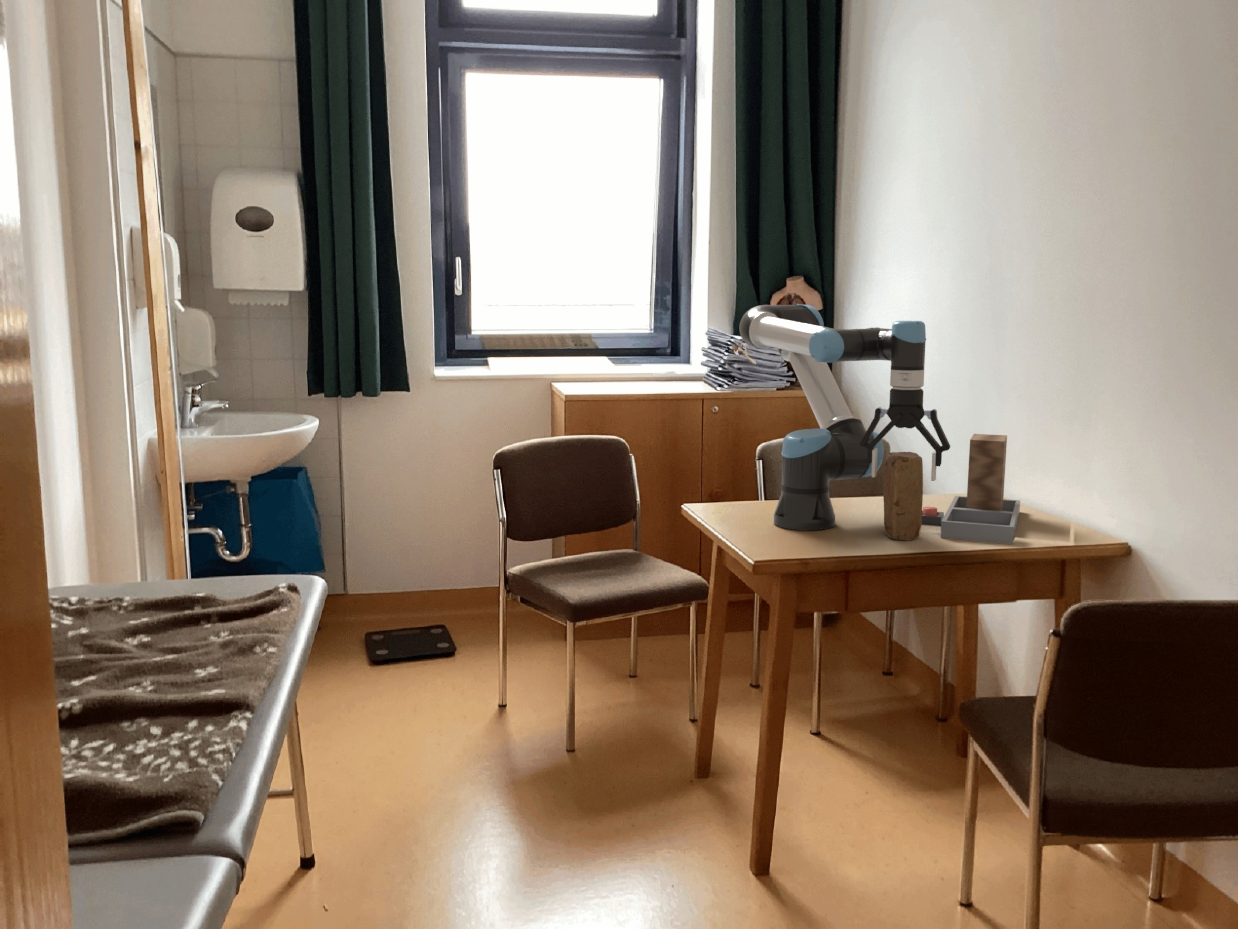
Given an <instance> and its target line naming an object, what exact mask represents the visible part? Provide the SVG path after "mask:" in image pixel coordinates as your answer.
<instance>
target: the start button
mask: <svg viewBox="0 0 1238 929" xmlns="http://www.w3.org/2000/svg"><path fill="white" fill-rule="evenodd" d="M922 511H923V515H931V516H937V512H938V507H935V506H922Z"/></svg>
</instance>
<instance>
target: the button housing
mask: <svg viewBox="0 0 1238 929" xmlns="http://www.w3.org/2000/svg"><path fill="white" fill-rule="evenodd" d="M944 515H945V512H944V511H937V516H931V515H923V510H922V522H921V525H930V526H931V525H932V526H941V521H942V519H943V517H944Z"/></svg>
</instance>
